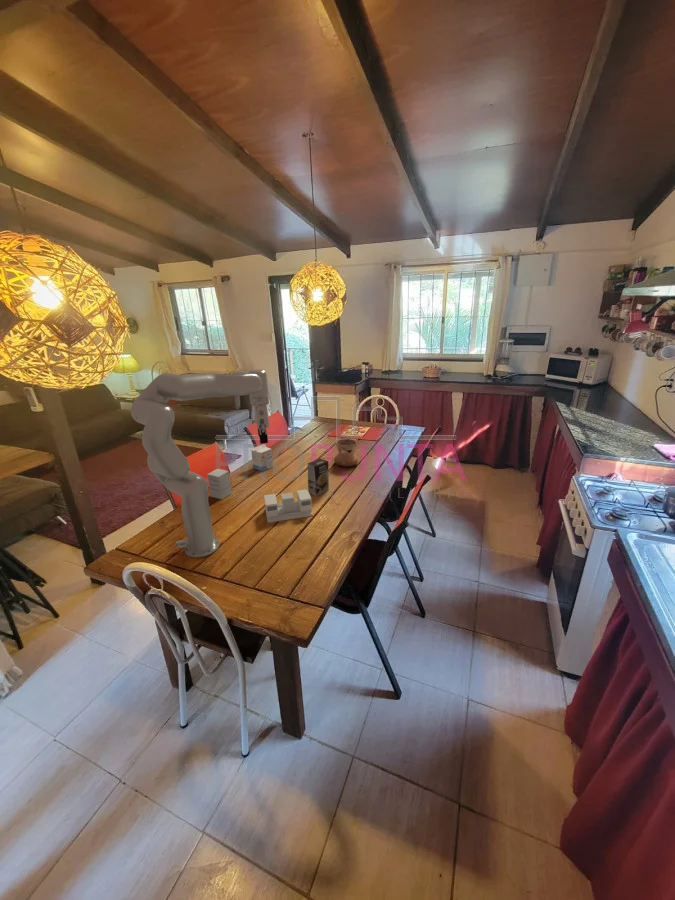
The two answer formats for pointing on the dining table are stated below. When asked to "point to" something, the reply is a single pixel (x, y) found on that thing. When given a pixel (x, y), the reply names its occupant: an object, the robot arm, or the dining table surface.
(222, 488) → the supplement box
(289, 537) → the dining table surface
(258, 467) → the ink box
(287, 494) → the block
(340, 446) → the ceramic jug
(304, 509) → the white channel bracket
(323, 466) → the coffee box
